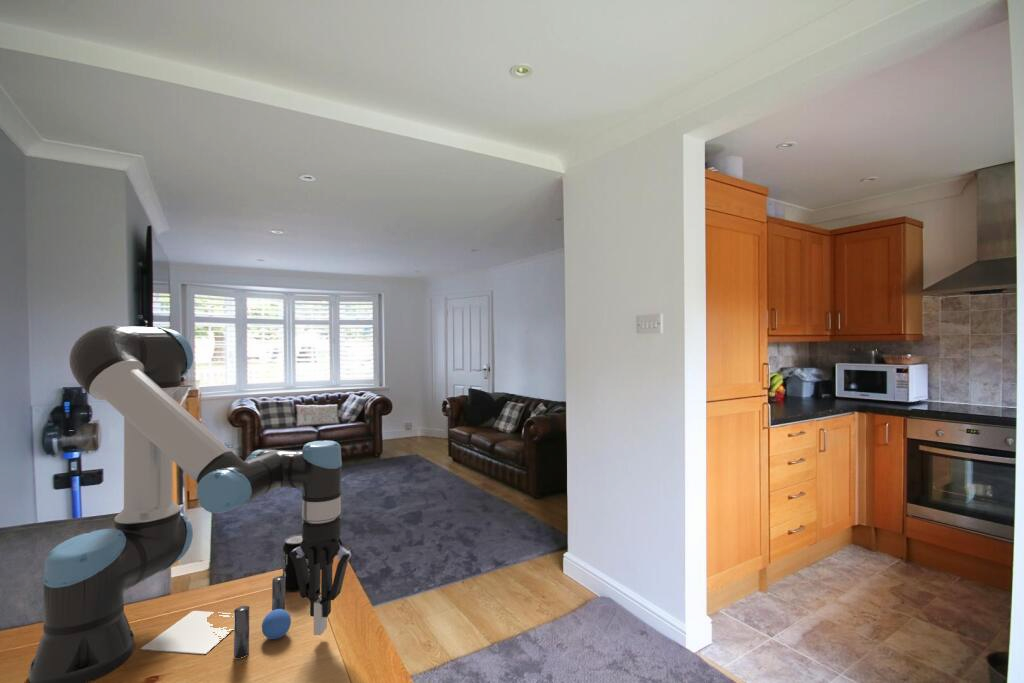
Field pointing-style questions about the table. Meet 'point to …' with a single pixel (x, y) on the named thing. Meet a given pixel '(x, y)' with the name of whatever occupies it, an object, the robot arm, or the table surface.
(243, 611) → the post
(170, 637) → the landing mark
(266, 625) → the ball
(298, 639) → the table surface
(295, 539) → the beverage can
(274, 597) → the post
